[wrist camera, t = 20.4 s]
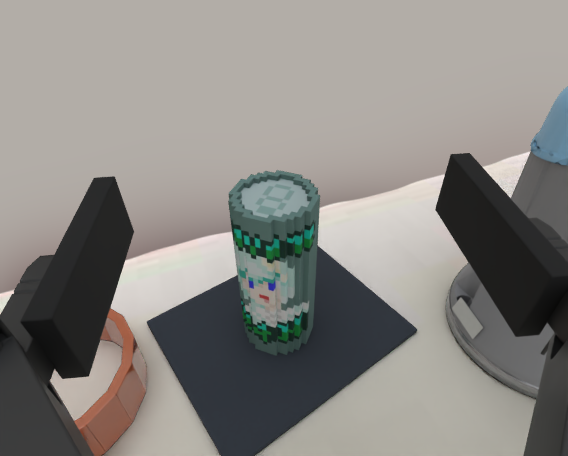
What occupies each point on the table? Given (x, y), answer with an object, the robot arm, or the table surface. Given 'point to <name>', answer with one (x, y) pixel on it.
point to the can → (276, 257)
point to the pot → (116, 391)
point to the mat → (273, 357)
